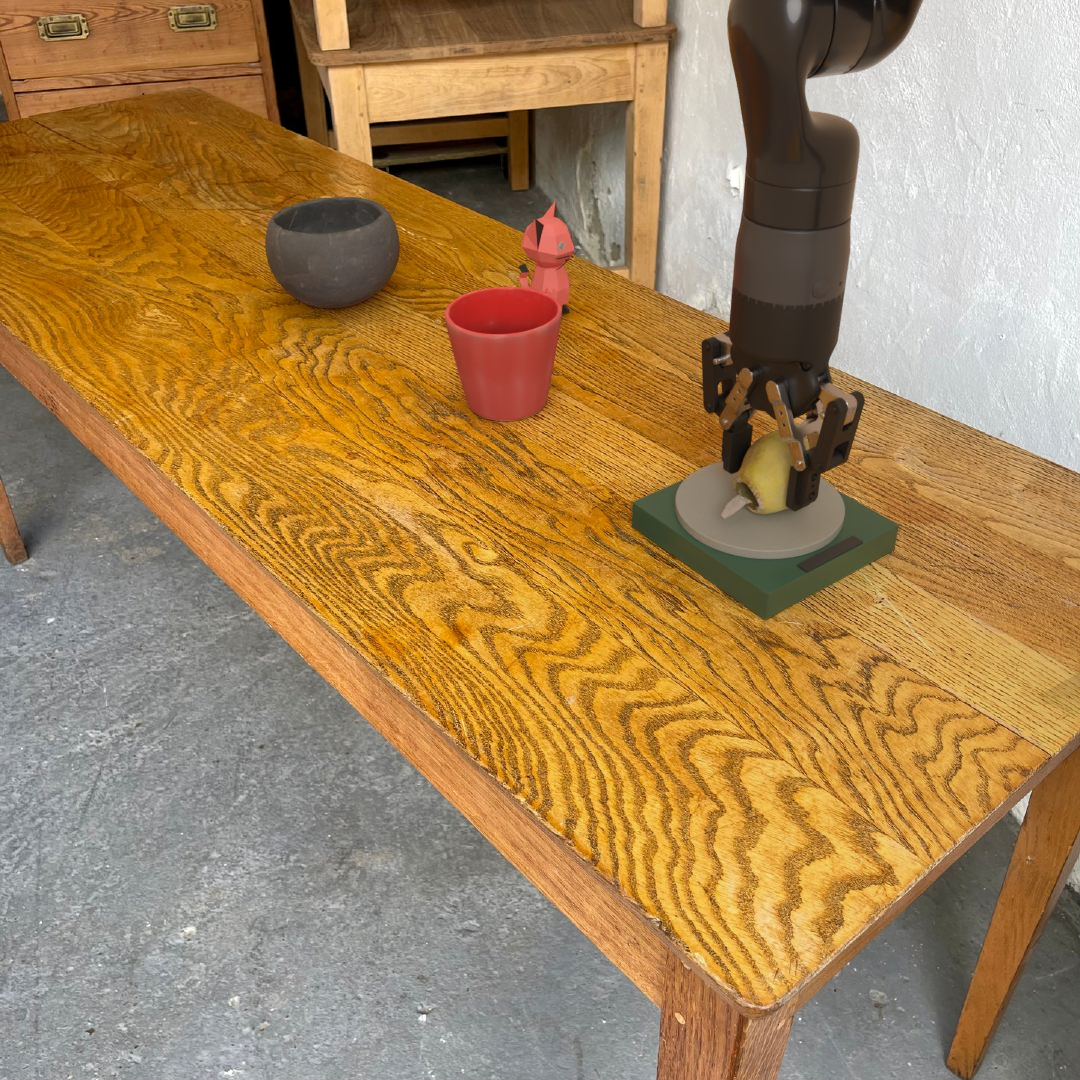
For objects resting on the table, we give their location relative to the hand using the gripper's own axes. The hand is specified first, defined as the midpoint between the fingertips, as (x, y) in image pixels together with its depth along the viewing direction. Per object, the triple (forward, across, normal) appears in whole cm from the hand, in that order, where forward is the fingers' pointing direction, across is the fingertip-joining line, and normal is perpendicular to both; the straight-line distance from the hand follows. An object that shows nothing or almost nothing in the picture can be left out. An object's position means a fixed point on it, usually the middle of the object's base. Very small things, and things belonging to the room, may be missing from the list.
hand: (766, 486), depth 84 cm
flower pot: (+5, +31, +3) cm, 32 cm away
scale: (+5, 0, 0) cm, 5 cm away
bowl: (+5, +64, +4) cm, 64 cm away
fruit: (+2, 0, 0) cm, 2 cm away
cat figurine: (+5, +45, -12) cm, 47 cm away
